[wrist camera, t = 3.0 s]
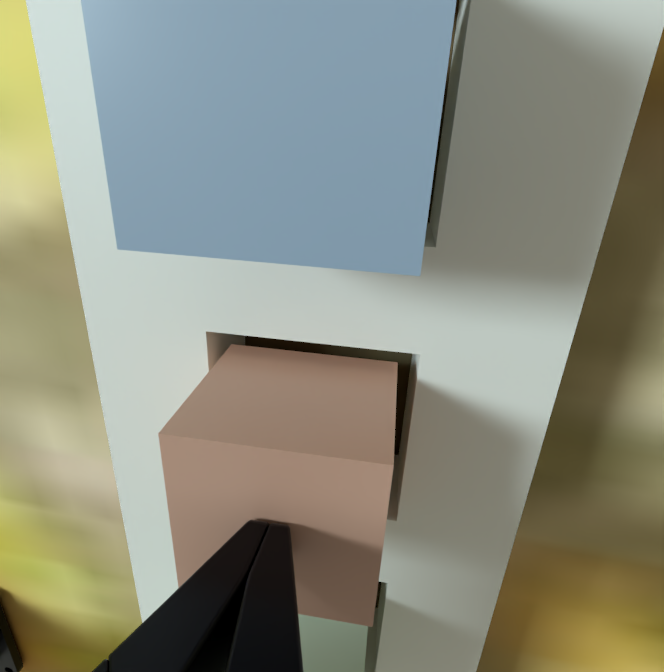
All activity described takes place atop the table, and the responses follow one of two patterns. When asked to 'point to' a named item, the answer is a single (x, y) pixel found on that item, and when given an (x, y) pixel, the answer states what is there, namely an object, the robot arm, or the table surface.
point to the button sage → (332, 645)
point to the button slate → (271, 126)
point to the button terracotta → (288, 468)
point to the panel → (389, 302)
